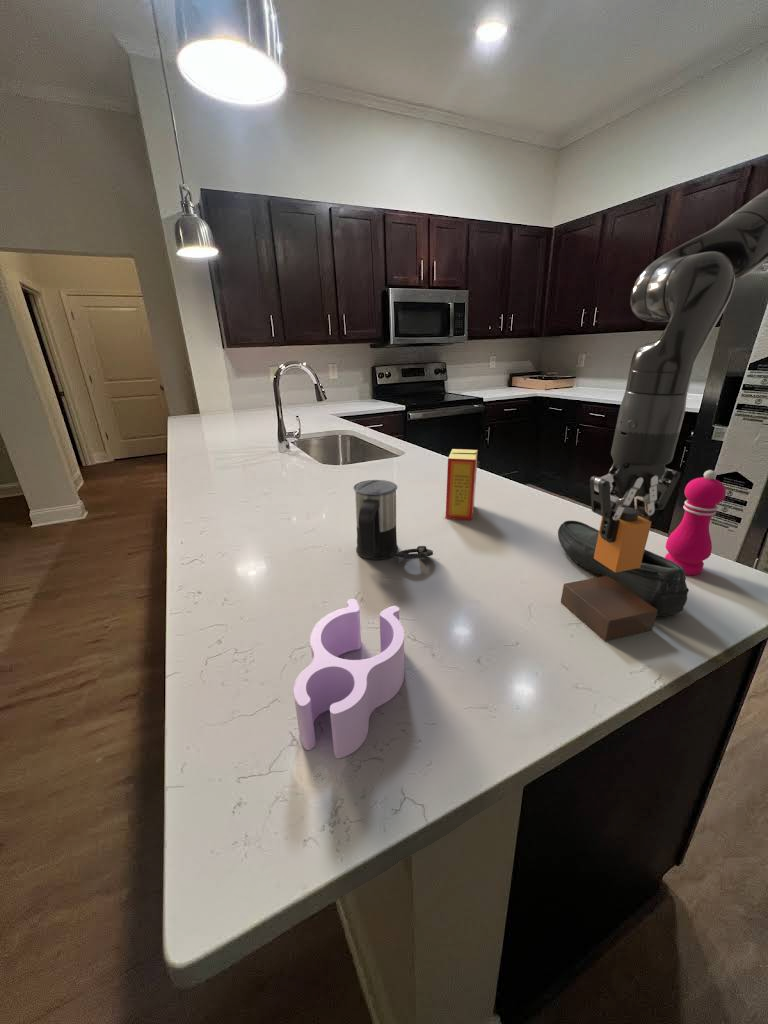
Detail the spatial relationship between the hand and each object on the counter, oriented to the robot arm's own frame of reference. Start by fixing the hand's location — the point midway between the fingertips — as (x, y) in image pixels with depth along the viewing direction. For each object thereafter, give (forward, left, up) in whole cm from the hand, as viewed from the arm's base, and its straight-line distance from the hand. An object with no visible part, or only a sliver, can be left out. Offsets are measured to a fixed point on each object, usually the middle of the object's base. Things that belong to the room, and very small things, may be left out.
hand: (621, 537), depth 64 cm
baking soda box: (+27, -39, -15) cm, 49 cm away
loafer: (-4, -14, -15) cm, 20 cm away
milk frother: (+39, -13, -15) cm, 43 cm away
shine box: (0, 0, -14) cm, 14 cm away
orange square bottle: (0, 0, 0) cm, 0 cm away
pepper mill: (-18, -20, -15) cm, 31 cm away
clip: (+36, +24, -15) cm, 46 cm away
